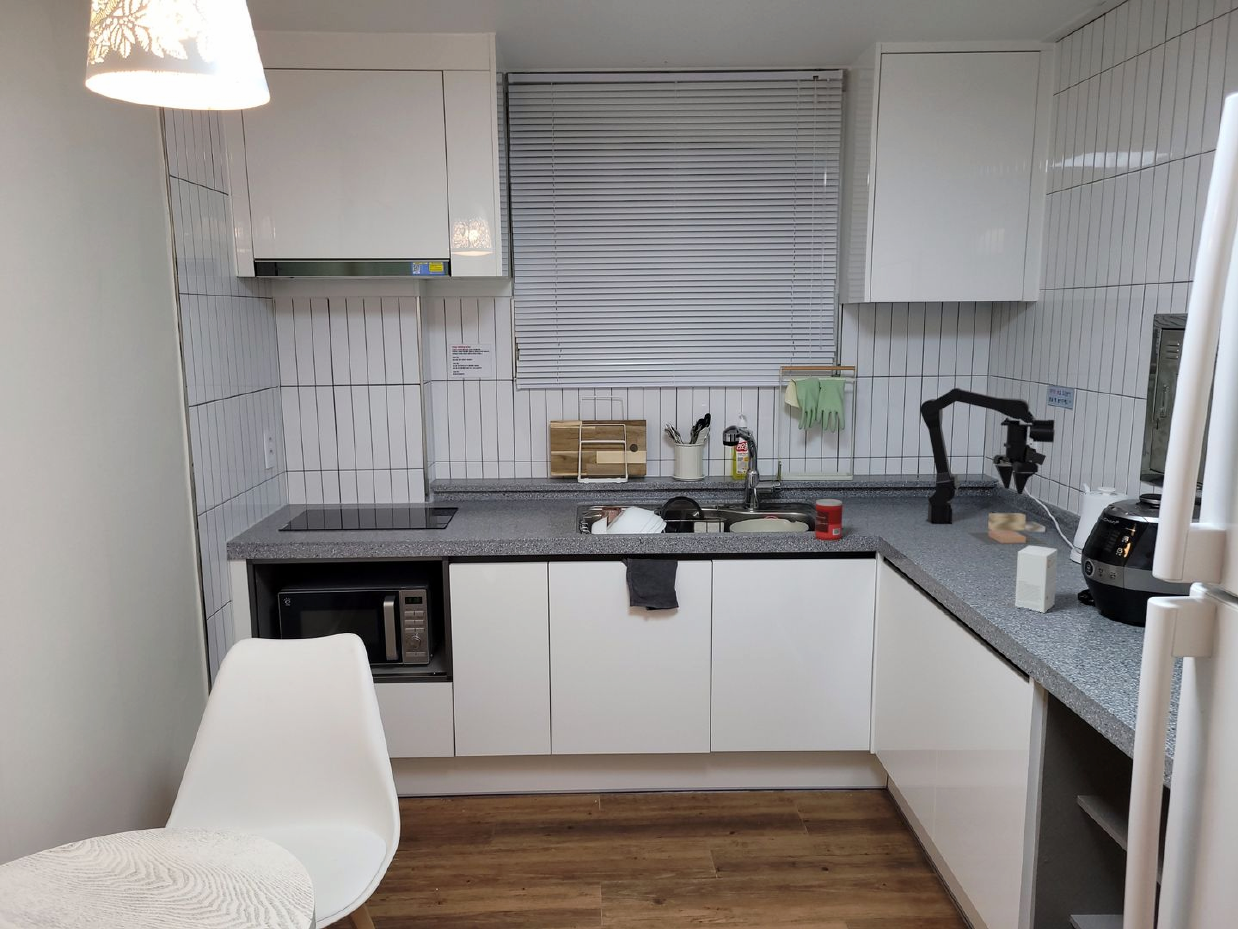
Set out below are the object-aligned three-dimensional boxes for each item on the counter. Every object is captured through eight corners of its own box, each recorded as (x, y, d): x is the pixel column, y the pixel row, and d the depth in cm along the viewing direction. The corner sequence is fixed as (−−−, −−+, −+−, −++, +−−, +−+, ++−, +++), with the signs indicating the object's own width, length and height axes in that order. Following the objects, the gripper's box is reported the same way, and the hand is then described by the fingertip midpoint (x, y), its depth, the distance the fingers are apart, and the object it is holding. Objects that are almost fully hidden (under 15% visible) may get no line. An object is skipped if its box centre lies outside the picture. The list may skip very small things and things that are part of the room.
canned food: (842, 535, 274) (843, 499, 272) (839, 541, 266) (841, 504, 265) (816, 534, 276) (817, 498, 275) (813, 539, 269) (814, 503, 267)
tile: (988, 536, 271) (1001, 543, 262) (988, 530, 271) (1001, 537, 262) (1011, 535, 271) (1025, 543, 262) (1012, 530, 271) (1025, 537, 262)
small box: (1025, 600, 208) (1028, 544, 206) (1054, 605, 204) (1058, 548, 202) (1013, 608, 202) (1017, 551, 200) (1044, 614, 198) (1048, 555, 196)
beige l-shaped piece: (995, 533, 277) (996, 517, 276) (984, 527, 285) (985, 511, 284) (1044, 532, 277) (1046, 516, 276) (1033, 527, 285) (1034, 511, 284)
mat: (987, 545, 261) (987, 544, 261) (967, 533, 276) (967, 532, 276) (1046, 545, 261) (1047, 544, 261) (1023, 533, 276) (1023, 532, 276)
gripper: (1057, 444, 268) (1053, 497, 271) (1029, 437, 287) (1026, 486, 289) (1019, 444, 268) (1016, 497, 271) (994, 437, 287) (990, 486, 289)
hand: (1013, 491), depth 280 cm, fingers open, 9 cm apart
